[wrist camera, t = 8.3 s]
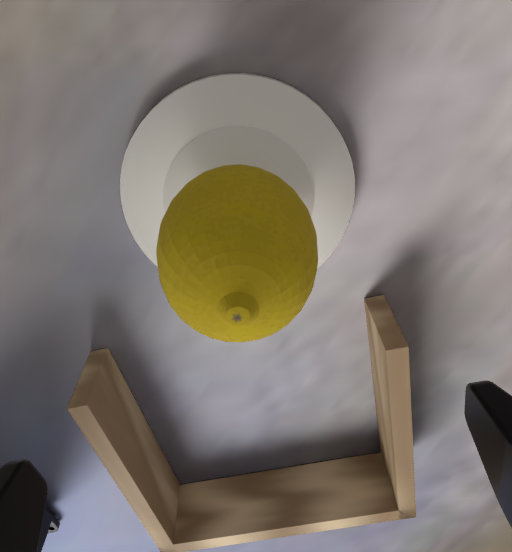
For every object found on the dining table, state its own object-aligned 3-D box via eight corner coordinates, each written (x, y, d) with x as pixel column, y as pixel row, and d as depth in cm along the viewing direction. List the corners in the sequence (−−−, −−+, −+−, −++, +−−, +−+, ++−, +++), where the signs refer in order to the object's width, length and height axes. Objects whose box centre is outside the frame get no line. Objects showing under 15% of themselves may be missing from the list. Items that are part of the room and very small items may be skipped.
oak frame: (170, 495, 32) (162, 554, 29) (90, 351, 24) (66, 408, 21) (396, 458, 31) (416, 517, 27) (383, 294, 23) (408, 346, 20)
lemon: (179, 127, 17) (142, 210, 11) (317, 152, 18) (365, 246, 11) (166, 251, 20) (130, 379, 13) (286, 269, 21) (309, 399, 14)
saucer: (166, 305, 23) (163, 316, 22) (86, 105, 18) (78, 111, 17) (361, 266, 22) (365, 276, 21) (337, 44, 17) (342, 47, 16)
